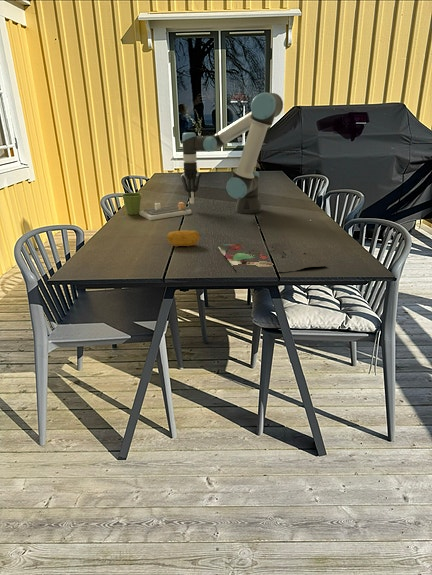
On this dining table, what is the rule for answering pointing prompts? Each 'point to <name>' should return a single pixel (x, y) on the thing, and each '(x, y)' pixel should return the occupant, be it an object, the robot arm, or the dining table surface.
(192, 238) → the potato
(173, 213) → the fader panel
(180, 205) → the fader knob
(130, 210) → the plant pot
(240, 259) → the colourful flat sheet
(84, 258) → the dining table surface
